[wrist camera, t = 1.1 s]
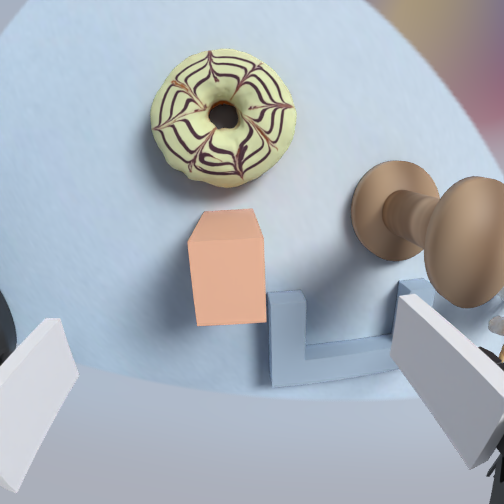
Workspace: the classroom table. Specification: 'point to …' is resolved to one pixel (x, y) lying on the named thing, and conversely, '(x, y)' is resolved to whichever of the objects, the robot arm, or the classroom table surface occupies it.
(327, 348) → the u-shaped block
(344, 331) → the classroom table surface
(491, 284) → the bobbin
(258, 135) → the decorated donut
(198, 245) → the tab
